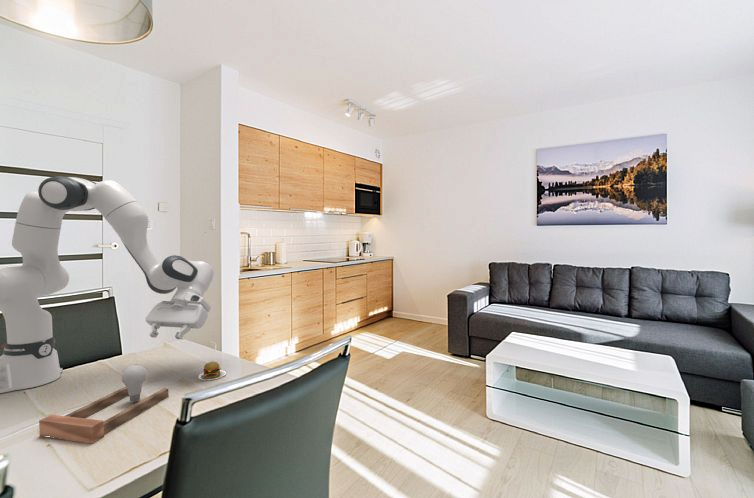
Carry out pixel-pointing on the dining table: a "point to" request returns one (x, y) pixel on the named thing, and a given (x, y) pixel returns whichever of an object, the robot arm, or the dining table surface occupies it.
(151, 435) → the dining table surface
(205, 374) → the hamburger
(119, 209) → the robot arm
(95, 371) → the dining table surface
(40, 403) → the dining table surface
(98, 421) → the guide track
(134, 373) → the lightbulb
